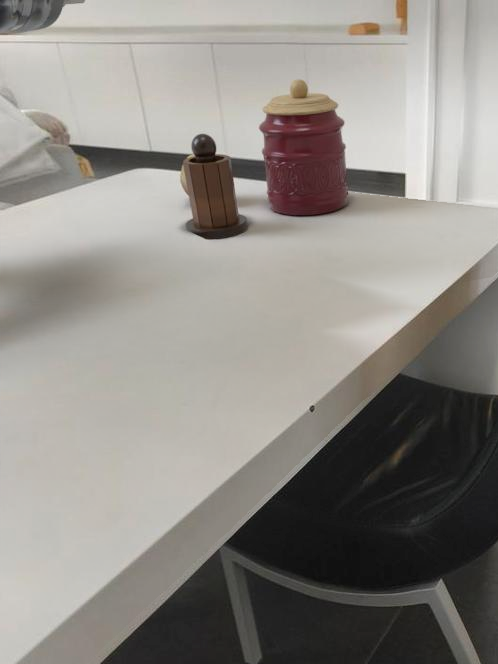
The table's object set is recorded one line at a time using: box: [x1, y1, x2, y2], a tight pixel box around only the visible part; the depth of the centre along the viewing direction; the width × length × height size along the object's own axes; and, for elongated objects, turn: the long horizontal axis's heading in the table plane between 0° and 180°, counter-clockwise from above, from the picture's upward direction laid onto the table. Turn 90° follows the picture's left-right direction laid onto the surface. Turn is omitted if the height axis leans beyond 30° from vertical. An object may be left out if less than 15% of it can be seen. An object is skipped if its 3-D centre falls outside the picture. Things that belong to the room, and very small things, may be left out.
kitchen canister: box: [258, 78, 349, 216], centre depth 105 cm, size 13×13×18 cm
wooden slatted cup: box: [182, 153, 240, 228], centre depth 98 cm, size 6×7×8 cm
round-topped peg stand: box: [185, 133, 249, 240], centre depth 98 cm, size 9×9×13 cm
